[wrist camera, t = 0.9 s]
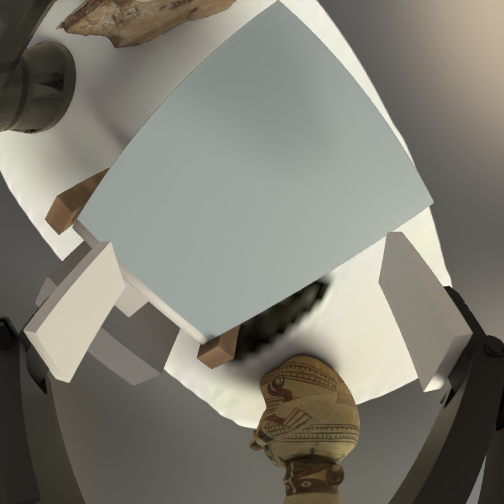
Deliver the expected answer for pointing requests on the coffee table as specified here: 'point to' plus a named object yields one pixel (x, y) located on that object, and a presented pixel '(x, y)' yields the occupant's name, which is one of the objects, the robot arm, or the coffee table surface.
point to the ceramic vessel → (307, 428)
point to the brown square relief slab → (137, 18)
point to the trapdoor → (241, 193)
